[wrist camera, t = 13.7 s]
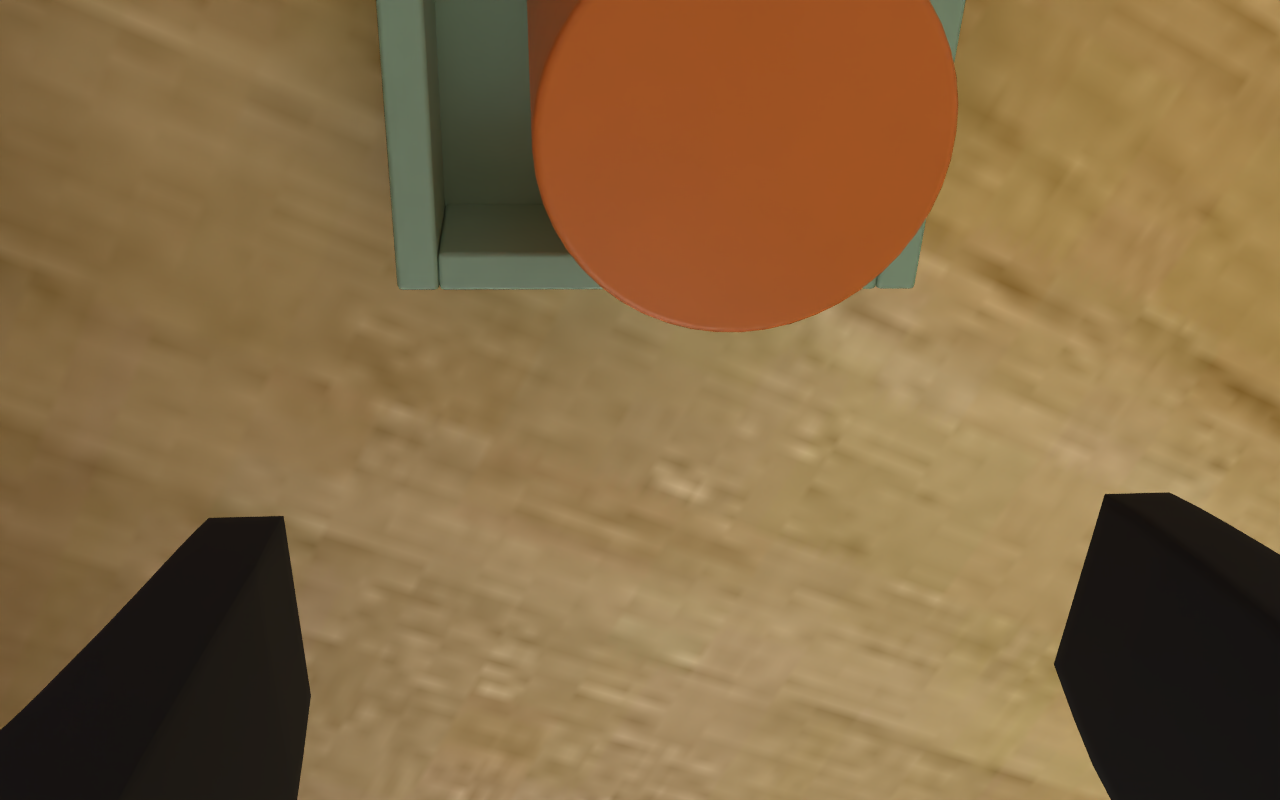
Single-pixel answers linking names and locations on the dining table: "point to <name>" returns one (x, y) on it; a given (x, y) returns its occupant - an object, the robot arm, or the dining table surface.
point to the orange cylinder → (738, 147)
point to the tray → (489, 150)
